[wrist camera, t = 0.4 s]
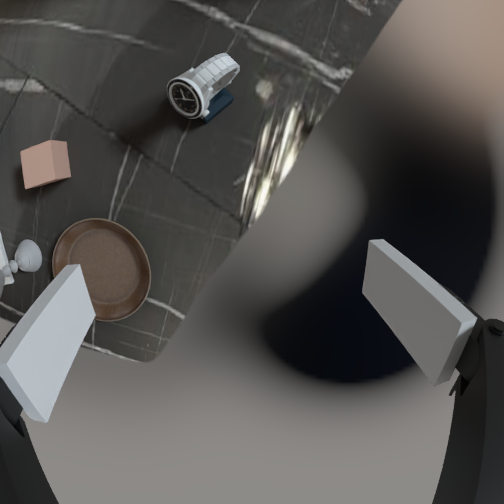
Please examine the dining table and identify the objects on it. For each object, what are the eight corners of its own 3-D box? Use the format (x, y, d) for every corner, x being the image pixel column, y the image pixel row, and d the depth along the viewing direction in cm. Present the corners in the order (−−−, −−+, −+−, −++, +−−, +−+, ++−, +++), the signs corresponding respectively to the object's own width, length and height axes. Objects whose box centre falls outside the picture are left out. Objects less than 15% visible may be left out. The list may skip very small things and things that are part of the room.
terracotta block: (38, 151, 32) (20, 151, 27) (66, 141, 32) (50, 140, 28) (42, 185, 33) (25, 189, 29) (71, 176, 34) (55, 179, 29)
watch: (166, 105, 34) (153, 83, 23) (213, 66, 33) (219, 32, 23) (195, 134, 35) (192, 123, 25) (242, 94, 35) (258, 70, 24)
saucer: (169, 240, 39) (167, 246, 36) (135, 327, 42) (131, 337, 39) (75, 198, 35) (67, 200, 32) (51, 288, 38) (44, 295, 35)
